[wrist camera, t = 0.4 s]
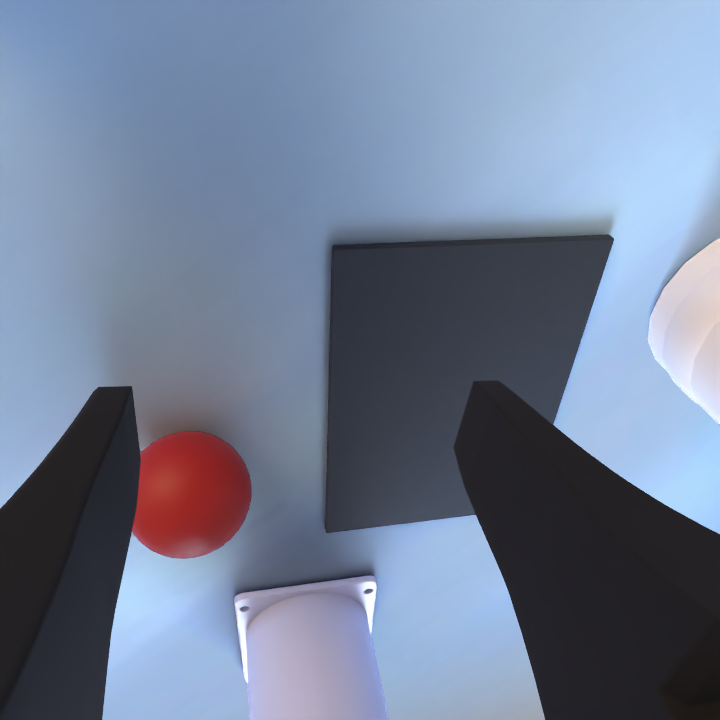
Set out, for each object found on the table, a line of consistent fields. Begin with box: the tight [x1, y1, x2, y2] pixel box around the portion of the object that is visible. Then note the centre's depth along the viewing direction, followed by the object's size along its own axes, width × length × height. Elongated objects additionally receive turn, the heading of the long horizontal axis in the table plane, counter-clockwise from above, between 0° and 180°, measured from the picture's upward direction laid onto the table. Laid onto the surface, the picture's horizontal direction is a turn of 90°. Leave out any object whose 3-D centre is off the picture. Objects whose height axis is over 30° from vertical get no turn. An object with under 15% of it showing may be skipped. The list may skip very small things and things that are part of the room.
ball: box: [132, 431, 251, 559], centre depth 24 cm, size 5×5×5 cm
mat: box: [325, 235, 614, 533], centre depth 27 cm, size 16×11×1 cm
